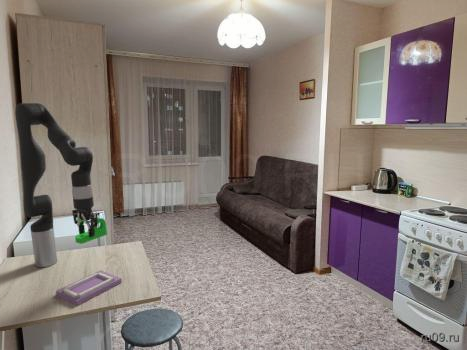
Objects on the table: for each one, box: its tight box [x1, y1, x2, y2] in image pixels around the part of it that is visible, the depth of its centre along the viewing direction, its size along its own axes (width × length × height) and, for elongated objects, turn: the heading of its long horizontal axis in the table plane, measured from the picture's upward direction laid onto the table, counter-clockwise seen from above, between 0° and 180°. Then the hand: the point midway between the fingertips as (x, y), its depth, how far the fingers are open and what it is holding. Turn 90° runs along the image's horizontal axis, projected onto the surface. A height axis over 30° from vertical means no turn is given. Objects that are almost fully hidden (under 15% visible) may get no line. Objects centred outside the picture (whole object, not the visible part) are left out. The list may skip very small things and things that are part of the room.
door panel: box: [55, 270, 123, 306], centre depth 132 cm, size 14×20×3 cm
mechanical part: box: [75, 217, 108, 245], centre depth 136 cm, size 12×6×8 cm, turn 148°
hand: (87, 235), depth 135 cm, fingers closed on mechanical part, 6 cm apart
